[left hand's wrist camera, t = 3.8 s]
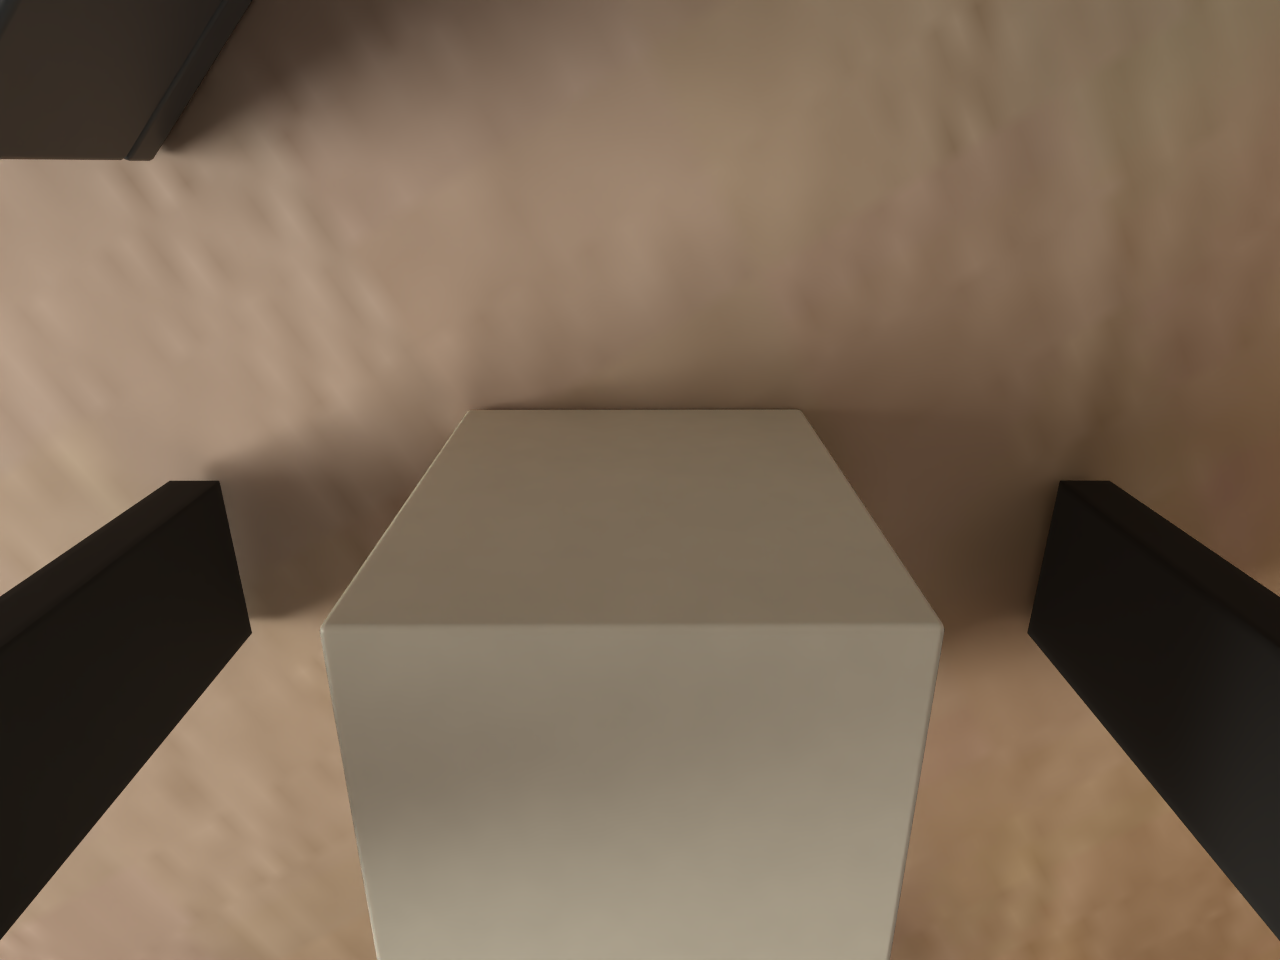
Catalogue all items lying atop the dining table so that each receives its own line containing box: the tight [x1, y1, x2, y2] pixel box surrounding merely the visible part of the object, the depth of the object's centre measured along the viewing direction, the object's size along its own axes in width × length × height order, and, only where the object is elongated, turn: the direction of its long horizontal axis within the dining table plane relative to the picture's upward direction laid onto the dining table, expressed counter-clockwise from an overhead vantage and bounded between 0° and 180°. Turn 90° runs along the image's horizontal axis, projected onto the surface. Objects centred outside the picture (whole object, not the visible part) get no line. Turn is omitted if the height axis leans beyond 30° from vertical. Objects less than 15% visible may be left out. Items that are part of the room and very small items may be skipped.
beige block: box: [320, 410, 944, 960], centre depth 10 cm, size 5×5×6 cm
